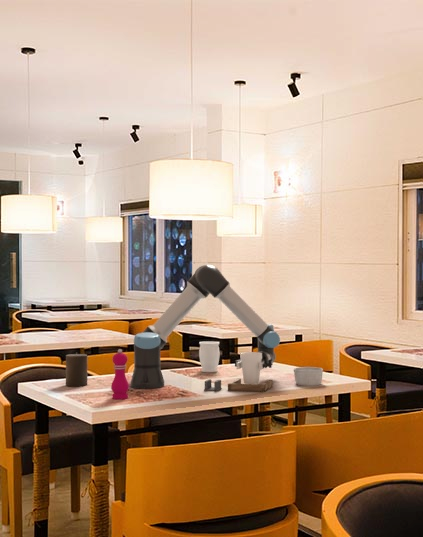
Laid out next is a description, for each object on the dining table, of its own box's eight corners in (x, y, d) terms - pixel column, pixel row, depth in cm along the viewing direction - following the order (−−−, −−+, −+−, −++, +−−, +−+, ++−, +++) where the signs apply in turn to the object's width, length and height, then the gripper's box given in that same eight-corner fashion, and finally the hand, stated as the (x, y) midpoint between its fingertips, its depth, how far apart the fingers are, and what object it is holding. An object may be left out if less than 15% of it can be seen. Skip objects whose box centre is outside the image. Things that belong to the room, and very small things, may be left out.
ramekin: (313, 387, 332) (313, 371, 332) (288, 384, 340) (288, 369, 340) (328, 383, 342) (328, 368, 342) (303, 381, 350) (303, 366, 350)
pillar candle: (79, 387, 335) (79, 353, 335) (61, 386, 339) (61, 352, 339) (91, 384, 344) (91, 351, 344) (73, 383, 348) (74, 350, 348)
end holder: (264, 392, 319) (264, 385, 319) (227, 390, 324) (227, 383, 324) (272, 386, 334) (272, 379, 334) (237, 385, 339) (237, 378, 339)
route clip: (217, 391, 322) (217, 381, 322) (204, 390, 324) (204, 381, 324) (221, 389, 328) (221, 379, 328) (208, 388, 330) (208, 379, 330)
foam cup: (262, 381, 334) (262, 352, 334) (261, 384, 325) (261, 354, 325) (241, 381, 335) (240, 351, 335) (239, 384, 325) (239, 354, 325)
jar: (196, 370, 388) (196, 341, 388) (216, 369, 391) (215, 340, 391) (202, 373, 378) (202, 343, 378) (222, 372, 381) (222, 342, 381)
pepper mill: (129, 396, 310) (129, 348, 310) (128, 399, 303) (128, 349, 303) (112, 396, 310) (111, 348, 310) (110, 399, 303) (110, 350, 303)
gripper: (284, 369, 343) (273, 376, 322) (237, 367, 350) (224, 374, 329) (284, 352, 343) (273, 358, 322) (237, 351, 350) (224, 356, 329)
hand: (248, 366), depth 325 cm, fingers closed on foam cup, 9 cm apart
